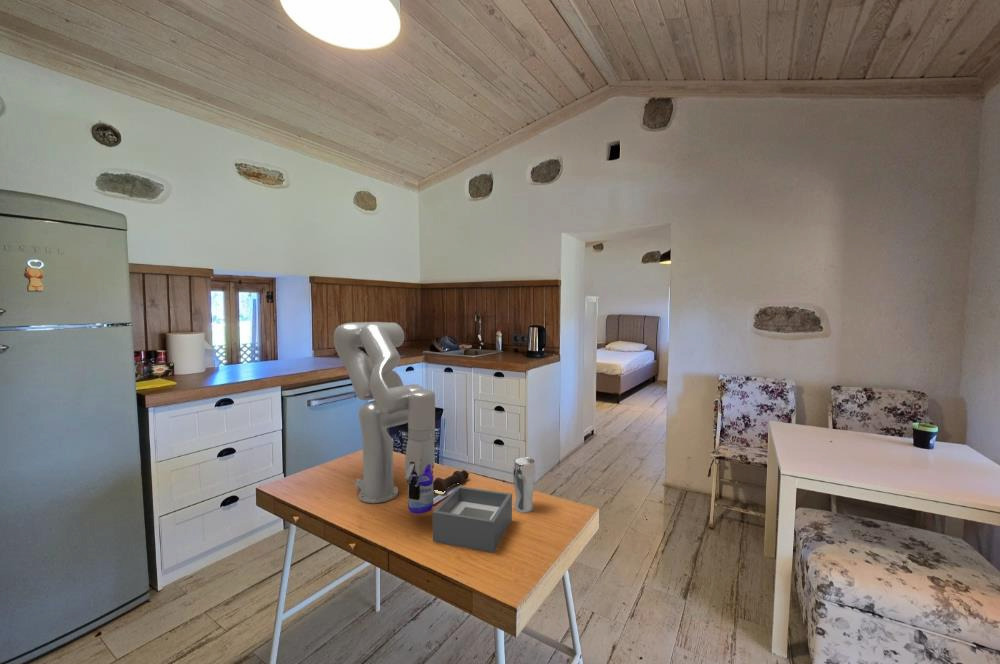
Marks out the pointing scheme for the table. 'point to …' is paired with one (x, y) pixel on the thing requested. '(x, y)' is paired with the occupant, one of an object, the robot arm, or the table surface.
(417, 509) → the bottle
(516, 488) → the beer glass
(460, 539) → the bore box
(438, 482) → the bolt
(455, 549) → the table surface
